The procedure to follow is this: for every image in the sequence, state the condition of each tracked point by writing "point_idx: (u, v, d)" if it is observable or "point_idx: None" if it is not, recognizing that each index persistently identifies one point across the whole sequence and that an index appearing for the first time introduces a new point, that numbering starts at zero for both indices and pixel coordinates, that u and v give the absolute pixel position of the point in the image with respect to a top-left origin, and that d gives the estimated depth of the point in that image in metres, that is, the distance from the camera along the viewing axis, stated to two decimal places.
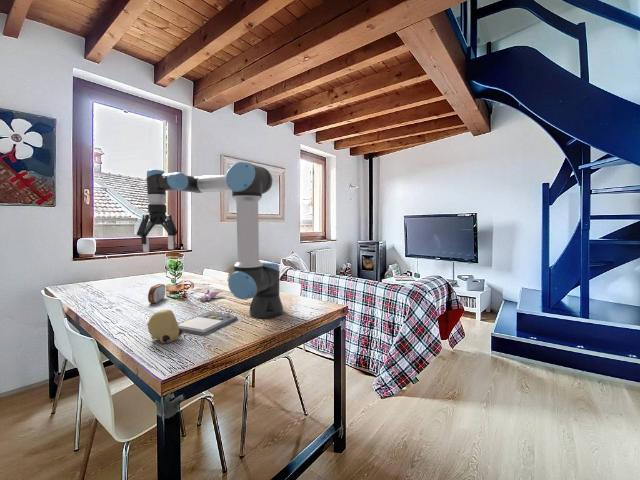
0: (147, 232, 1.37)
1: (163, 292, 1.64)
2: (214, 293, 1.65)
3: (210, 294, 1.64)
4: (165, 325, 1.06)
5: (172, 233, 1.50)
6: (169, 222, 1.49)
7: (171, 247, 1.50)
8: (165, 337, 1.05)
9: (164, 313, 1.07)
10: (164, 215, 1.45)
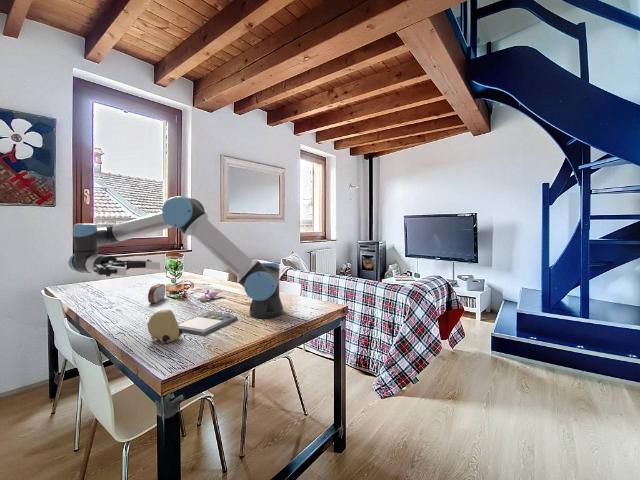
0: (108, 266, 1.09)
1: (163, 292, 1.64)
2: (214, 293, 1.65)
3: (210, 294, 1.64)
4: (165, 325, 1.06)
5: (144, 261, 1.21)
6: None
7: (156, 264, 1.18)
8: (165, 337, 1.05)
9: (164, 313, 1.07)
10: None
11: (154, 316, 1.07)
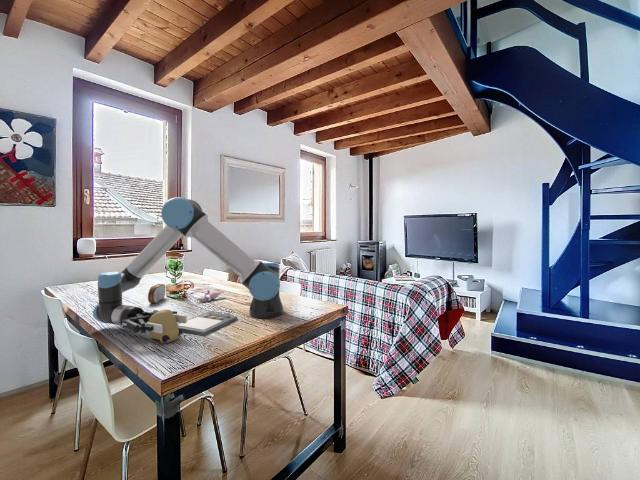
0: (142, 322, 1.06)
1: (163, 292, 1.64)
2: (214, 294, 1.63)
3: (210, 295, 1.62)
4: (165, 325, 1.06)
5: None
6: None
7: (183, 317, 1.13)
8: (165, 337, 1.05)
9: (164, 313, 1.07)
10: None
11: (154, 316, 1.07)
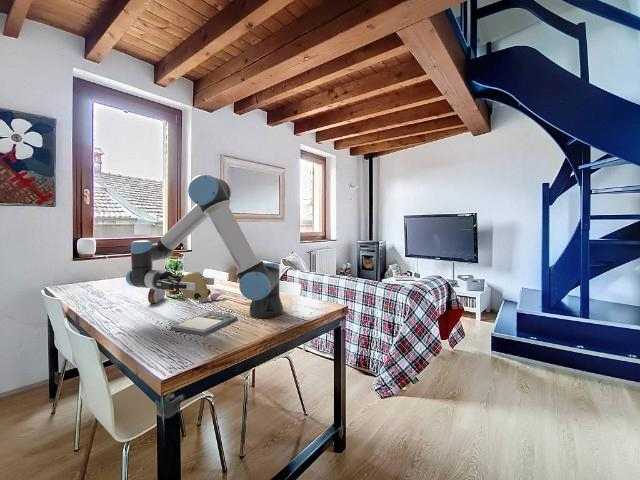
0: (175, 282, 1.17)
1: (163, 292, 1.64)
2: (215, 295, 1.62)
3: (211, 295, 1.61)
4: (196, 284, 1.17)
5: None
6: None
7: (211, 279, 1.24)
8: (197, 295, 1.16)
9: (195, 274, 1.18)
10: None
11: (186, 276, 1.18)
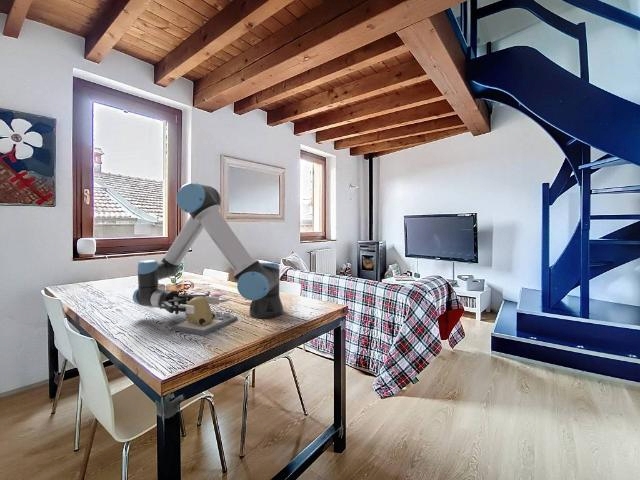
0: (176, 304, 1.18)
1: None
2: (215, 295, 1.60)
3: (211, 296, 1.60)
4: (201, 309, 1.19)
5: (203, 296, 1.31)
6: (192, 297, 1.32)
7: (216, 299, 1.28)
8: (201, 320, 1.18)
9: (200, 299, 1.21)
10: None
11: (191, 302, 1.20)
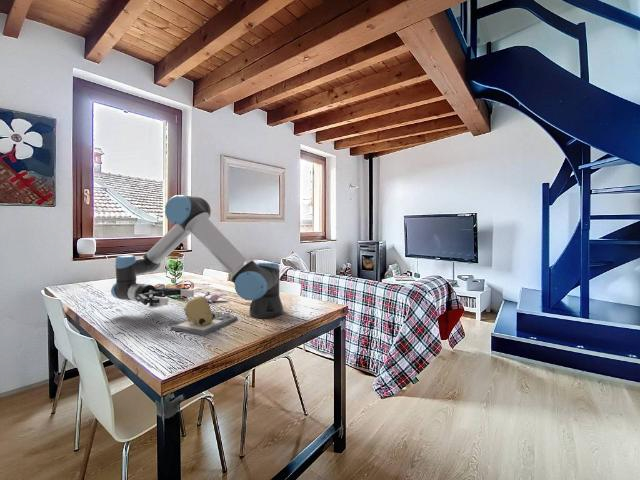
0: (150, 296, 1.23)
1: None
2: (214, 296, 1.59)
3: (211, 296, 1.59)
4: (201, 309, 1.19)
5: (179, 289, 1.35)
6: None
7: (190, 291, 1.32)
8: (201, 320, 1.18)
9: (199, 299, 1.21)
10: None
11: (191, 302, 1.20)
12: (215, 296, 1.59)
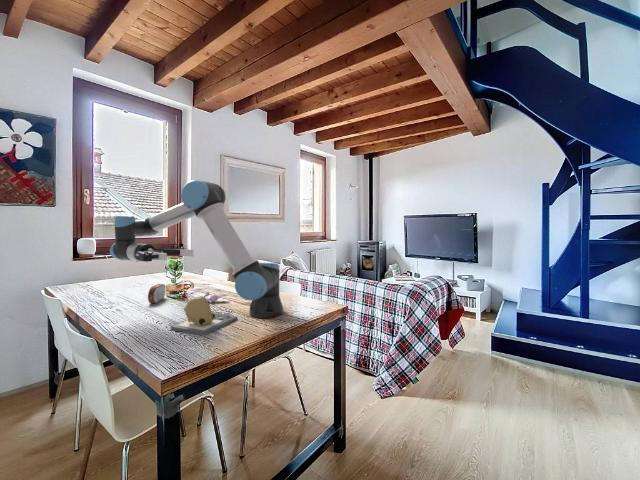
0: (149, 252, 1.22)
1: (163, 292, 1.64)
2: (213, 297, 1.57)
3: (210, 297, 1.58)
4: (201, 309, 1.19)
5: (179, 249, 1.34)
6: None
7: (190, 251, 1.31)
8: (201, 320, 1.18)
9: (200, 299, 1.21)
10: None
11: (191, 302, 1.20)
12: (214, 297, 1.58)
